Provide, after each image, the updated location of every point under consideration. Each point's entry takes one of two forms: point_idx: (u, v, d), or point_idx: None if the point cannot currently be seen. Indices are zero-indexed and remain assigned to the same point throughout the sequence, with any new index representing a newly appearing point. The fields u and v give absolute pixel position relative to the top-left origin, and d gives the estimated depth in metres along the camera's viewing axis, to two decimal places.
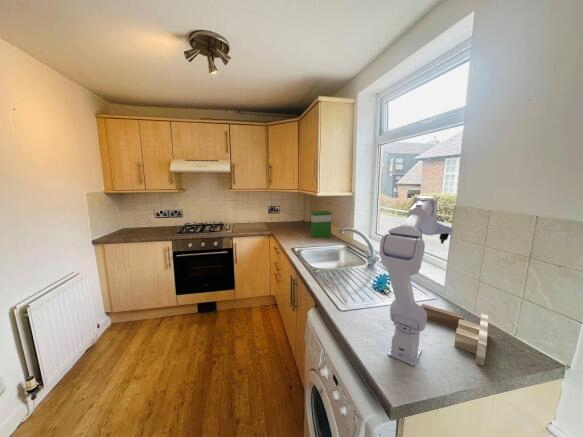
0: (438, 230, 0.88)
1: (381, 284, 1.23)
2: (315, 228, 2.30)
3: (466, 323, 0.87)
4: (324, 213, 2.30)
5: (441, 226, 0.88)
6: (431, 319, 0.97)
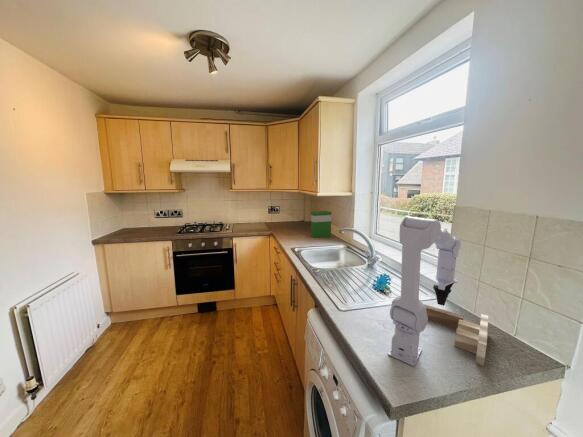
0: (441, 281, 0.91)
1: (381, 284, 1.23)
2: (315, 228, 2.30)
3: (466, 323, 0.87)
4: (324, 213, 2.30)
5: None
6: (431, 319, 0.97)
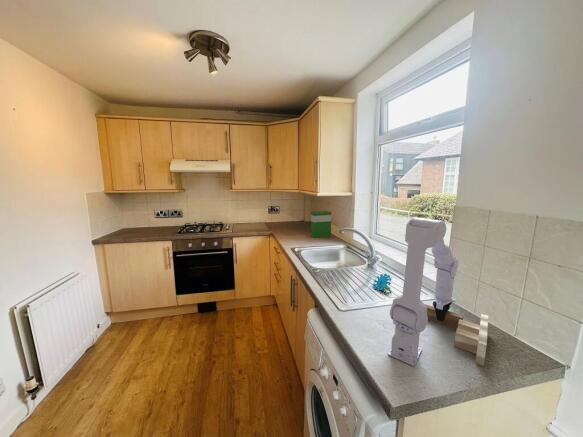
0: (439, 300, 0.93)
1: (381, 284, 1.23)
2: (315, 228, 2.30)
3: (466, 323, 0.87)
4: (324, 213, 2.30)
5: None
6: (431, 319, 0.97)
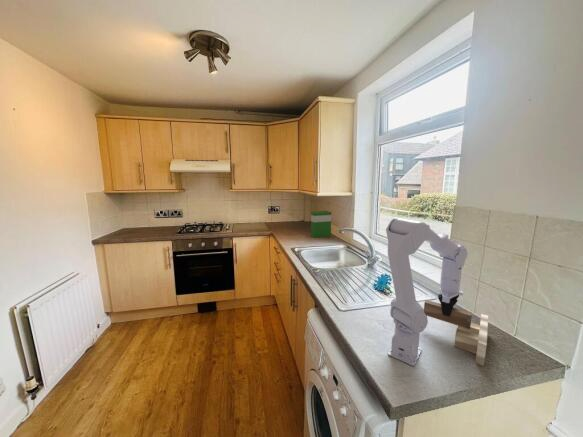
0: (445, 292, 0.84)
1: (382, 284, 1.23)
2: (315, 228, 2.30)
3: None
4: (324, 213, 2.30)
5: None
6: (436, 316, 0.89)
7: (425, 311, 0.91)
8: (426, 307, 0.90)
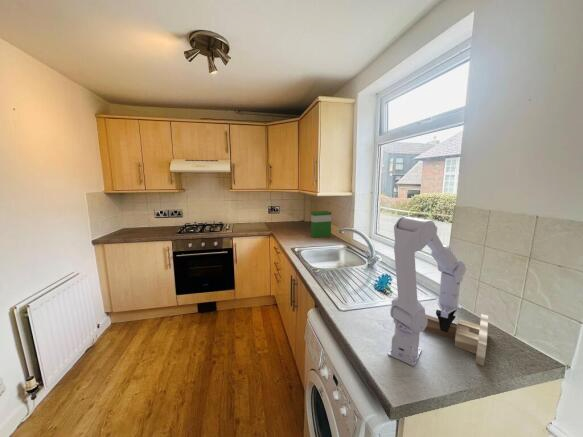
0: (444, 307, 0.85)
1: (382, 284, 1.23)
2: (315, 228, 2.30)
3: (466, 323, 0.87)
4: (324, 213, 2.30)
5: (450, 310, 0.83)
6: (434, 331, 0.90)
7: None
8: None
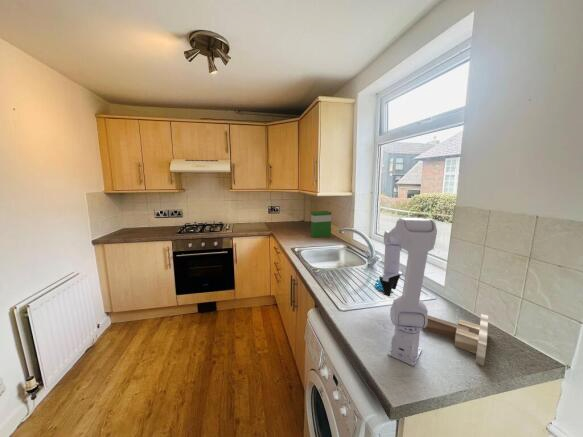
0: (387, 273, 0.98)
1: None
2: (315, 228, 2.30)
3: (466, 323, 0.87)
4: (324, 213, 2.30)
5: (391, 275, 0.96)
6: (433, 331, 0.90)
7: None
8: None
